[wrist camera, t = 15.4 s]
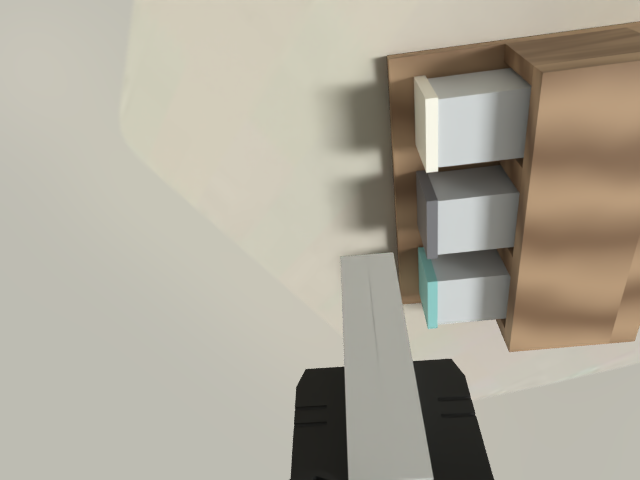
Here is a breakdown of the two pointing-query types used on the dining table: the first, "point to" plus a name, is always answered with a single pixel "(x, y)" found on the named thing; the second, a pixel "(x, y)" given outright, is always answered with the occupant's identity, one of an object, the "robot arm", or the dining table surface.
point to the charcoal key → (466, 210)
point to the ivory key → (470, 117)
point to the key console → (549, 182)
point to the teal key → (463, 287)
